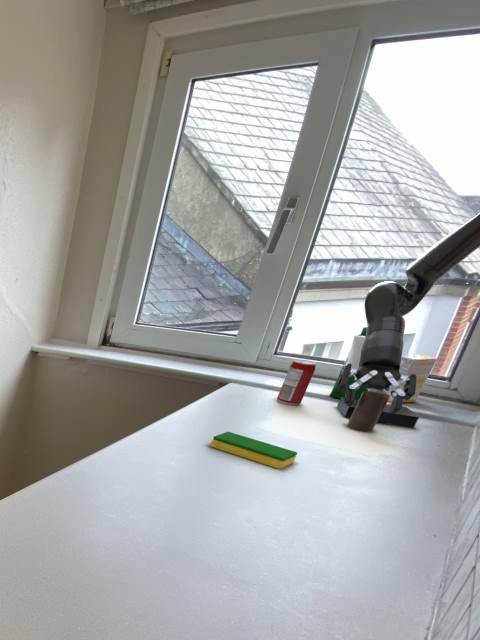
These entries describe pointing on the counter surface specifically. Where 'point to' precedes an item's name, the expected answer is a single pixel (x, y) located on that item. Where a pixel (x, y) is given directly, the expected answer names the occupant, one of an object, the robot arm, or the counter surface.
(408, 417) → the panel
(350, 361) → the milk carton
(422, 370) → the supplement box
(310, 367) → the soda can
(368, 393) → the dark brown cylinder
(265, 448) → the dish sponge
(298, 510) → the counter surface
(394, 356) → the robot arm
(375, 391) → the hob knob
